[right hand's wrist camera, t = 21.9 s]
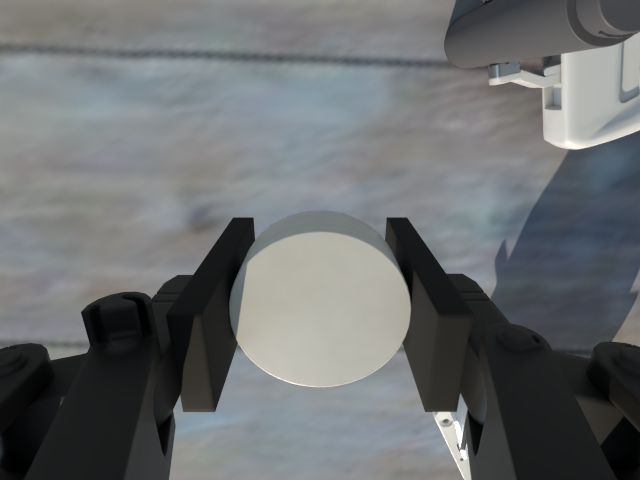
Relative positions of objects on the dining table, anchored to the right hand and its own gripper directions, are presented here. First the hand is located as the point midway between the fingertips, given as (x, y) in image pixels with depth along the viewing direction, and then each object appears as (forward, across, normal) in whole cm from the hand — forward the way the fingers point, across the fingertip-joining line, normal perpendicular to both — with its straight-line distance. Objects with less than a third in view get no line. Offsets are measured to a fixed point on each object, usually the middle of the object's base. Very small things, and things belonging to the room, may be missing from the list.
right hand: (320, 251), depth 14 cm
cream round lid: (-4, 0, 0) cm, 4 cm away
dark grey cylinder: (+25, +14, +10) cm, 30 cm away
